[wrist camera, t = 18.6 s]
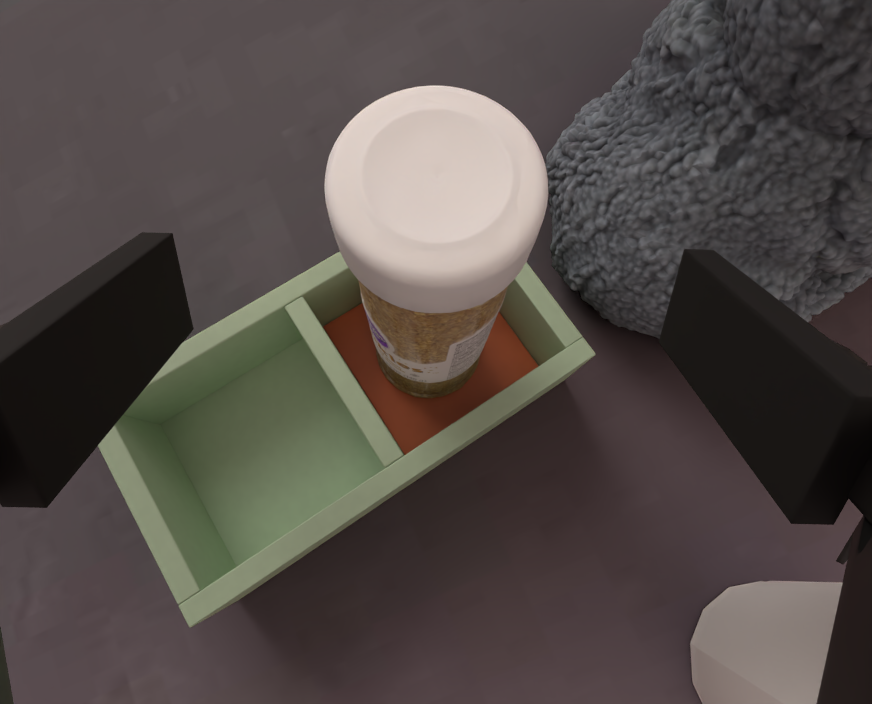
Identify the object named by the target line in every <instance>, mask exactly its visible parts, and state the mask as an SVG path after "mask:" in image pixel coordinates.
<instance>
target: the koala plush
mask: <svg viewBox="0 0 872 704" xmlns="http://www.w3.org/2000/svg"><path fill="white" fill-rule="evenodd" d="M631 65H632V69H631V70H629V71H628V72H627V73H626V74H624V76H623V77H622V78H620V79H619V80H618V82H616V83H615V85H613V86H612V89H611V92H607V93H605V94H604V95H603V96H602V97H601V98H600V97H599V98H596V99H592V100H591V101H590V102H589V103H588V104H585V105H584V106H583V107H582V108H581V112H579V113H577V114H576V115H575V120H574V121H573V122H572V124H571V125H570V126H569V127H568V128H567V129H566V130H564V131H563V132H562V134H561V136H560V138H559V139H558V140H557V143H556V144H555V145H554V147H553V148H552V149H551V150H550V152H549V153H548V155H547V157H546V162H547V163H546V165H545V166H546V171H547V177H548V187H549V188H548V193H549V194H551V197H550V199H549V205H550V206H551V208H550V214H551V217H552V229H553V230H552V235H553V238H552V243H551V246H550V249H551V253H552V260H553V262H552V267H553V268H555V269H556V271H557V272H558V273H559V274H560V276H561V277H563V280H564V282H566V284H568V285H569V286H570V288H571V289H572V290H573V291H580V295H581V299H582V300H584V301H585V302H587V303H588V304H590V305H592V306H593V307H594V309H595V310H597V311H599V312H600V315H601V317H602V318H604V319H609V321H610V322H611V323H612V324H614V325H617V326H618V327H625V328H627V329H629V330H636V331H638V332H639V333H643V334H649V335H650V336H654V337H656V338H658V339H660V335H661V331H662V328H663V324H664V320H665V317H666V313H667V309H668V306H669V302H670V298H671V295H672V291H673V287H674V284H675V280H676V277H677V273H678V269H679V266H680V262H681V258H682V255H683V251H684V249H704V250H714V251H716V252H717V253H718V254H720V255H721V256H722V257H723V258H725V259H726V260H727V261H729V262H730V263H731V264H733V265H734V266H735V267H736V268H738V269H739V270H740V271H742V272H743V273H744V274H746V275H747V276H748V277H749V278H751V279H752V280H753V281H755V282H756V283H757V284H759V285H760V286H761V287H762V288H764V289H765V290H766V291H768V292H769V293H770V294H772V295H773V296H774V297H775V298H777V299H778V300H779V301H781V302H782V303H783V304H785V305H786V306H787V307H788V308H790V309H791V310H792V311H794V312H795V313H796V314H798V315H799V316H800V317H801V318H803V319H804V320H805V321H807V322H809V321H811V319H812V316H811V315H817V314H820V313H821V312H822V311H823V310H826V309H828V308H829V307H830V306H832V305H833V304H836V303H839V302H840V300H841V299H843V298H844V293H845V292H852V291H854V289H855V288H857V287H858V286H860V285H862V284H864V282H866V281H867V280H868V278H872V0H671V2H670V3H669V4H668V6H667V8H665V9H664V10H662V12H661V13H660V14H659V15H658V16H657V17H656V18H655V19H654V21H653V23H652V27H650V28H649V29H647V30H646V32H645V33H644V35H643V45H642V47H641V51H640V52H639V53H638V56H637V58H635V59H634V60H633V61H632V62H631Z"/></svg>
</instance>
